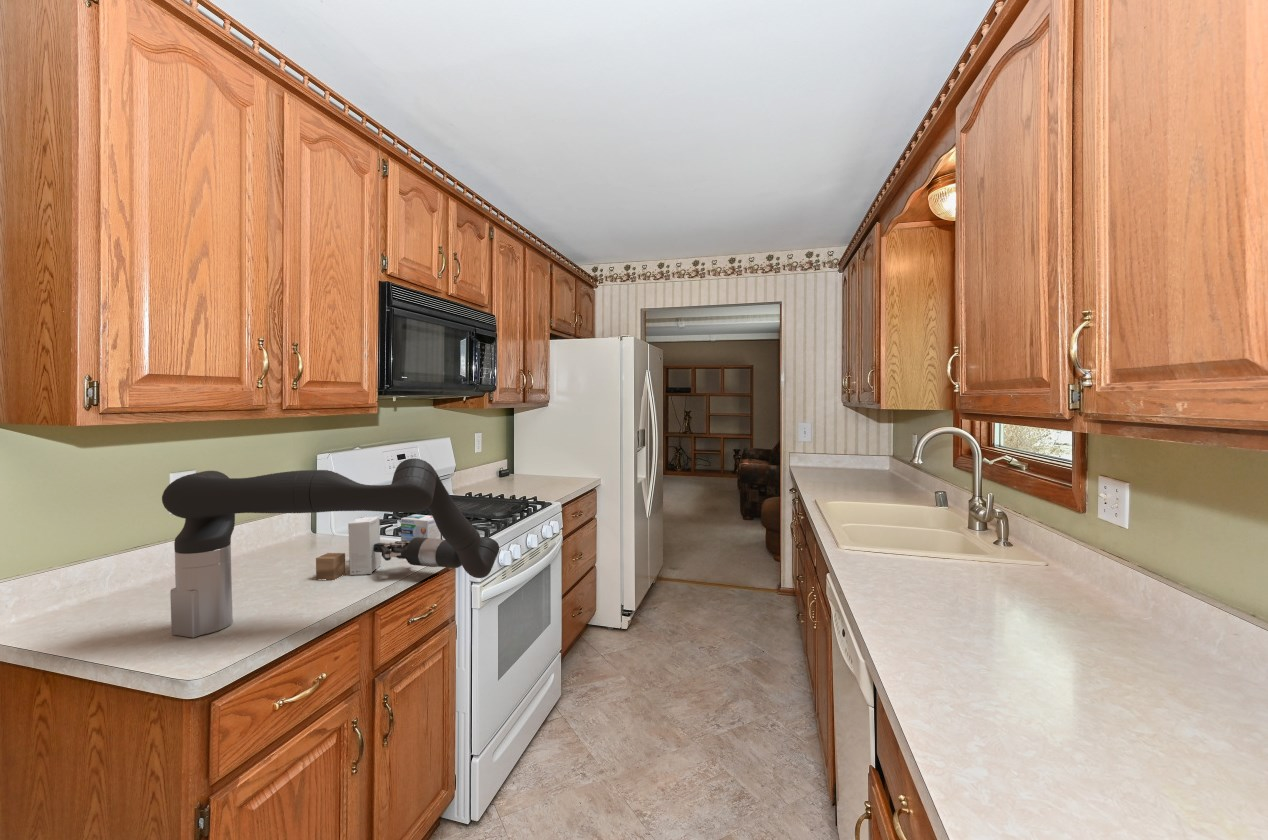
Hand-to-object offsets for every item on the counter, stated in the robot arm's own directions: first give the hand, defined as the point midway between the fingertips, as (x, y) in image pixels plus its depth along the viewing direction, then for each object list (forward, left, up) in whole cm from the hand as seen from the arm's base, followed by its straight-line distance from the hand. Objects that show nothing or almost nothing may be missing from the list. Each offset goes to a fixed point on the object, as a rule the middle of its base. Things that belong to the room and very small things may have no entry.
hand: (375, 547), depth 148 cm
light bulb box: (+22, +2, -7) cm, 23 cm away
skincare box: (0, +4, -7) cm, 8 cm away
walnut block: (-7, +8, -7) cm, 13 cm away
